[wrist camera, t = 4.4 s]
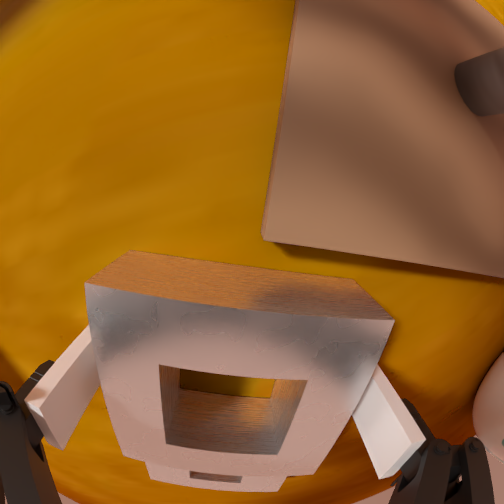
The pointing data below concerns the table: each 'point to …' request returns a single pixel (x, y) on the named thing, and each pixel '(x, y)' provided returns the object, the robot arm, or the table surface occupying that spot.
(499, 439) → the vase
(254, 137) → the table surface
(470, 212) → the post base
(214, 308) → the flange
